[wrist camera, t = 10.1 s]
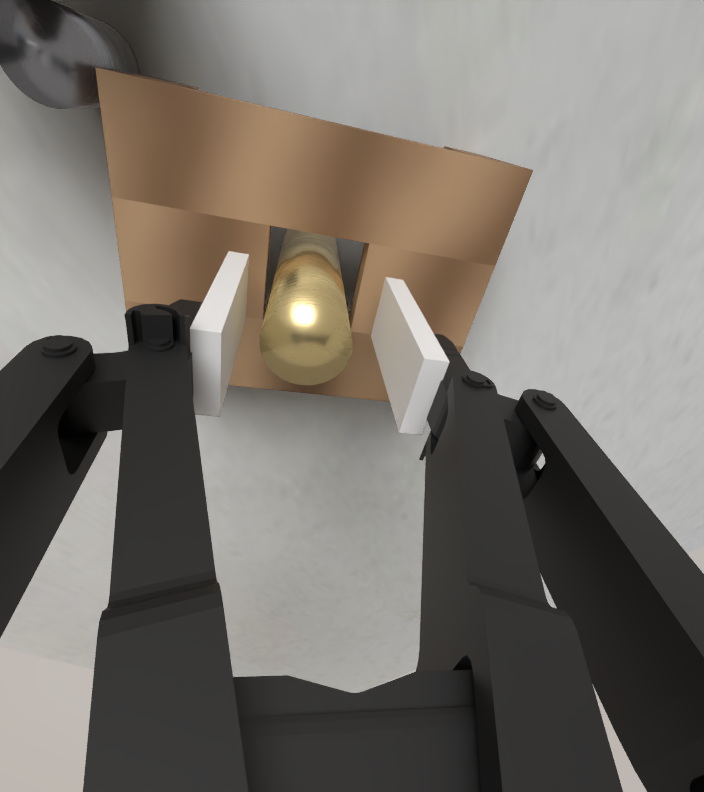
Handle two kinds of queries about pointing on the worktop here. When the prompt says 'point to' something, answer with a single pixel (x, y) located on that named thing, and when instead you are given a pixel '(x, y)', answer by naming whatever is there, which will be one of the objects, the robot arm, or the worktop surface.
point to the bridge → (296, 212)
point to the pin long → (307, 312)
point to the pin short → (59, 52)
